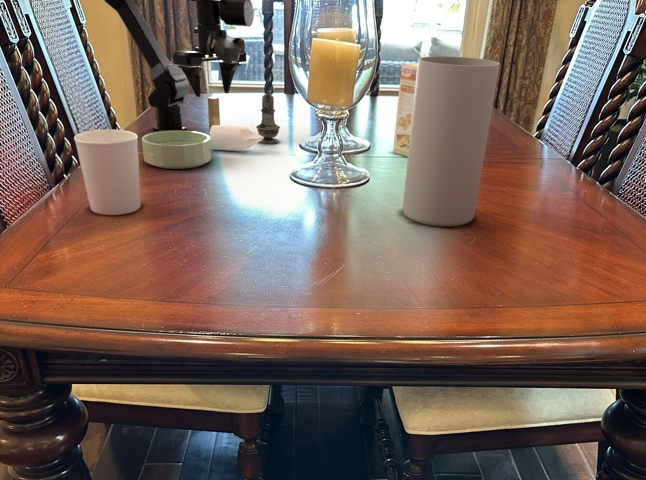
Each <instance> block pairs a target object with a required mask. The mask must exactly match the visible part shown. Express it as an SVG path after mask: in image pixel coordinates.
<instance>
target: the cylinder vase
mask: <svg viewBox="0 0 646 480" xmlns="http://www.w3.org/2000/svg"><path fill="white" fill-rule="evenodd" d="M417 64H418V66H417V75H416V85H415V94H414V104H413V113H412V123H411V132H410V142H409V151H408V157H407V164H406V173H405V179H404V181H405V182H404V190H403V199H402V212H403V214H404V215H405V217H406V218H407V219H409V220H411V221H413V222H416V223H418V224H422V225H426V226H432V227H440V228H441V227H442V228H445V227H446V228H447V227H448V228H450V227H458V226H463V225H466V224H469V223H470V222H472V221H473V219H474V218H475V215H476V209H477V203H478V196H479V191H480V186H481V185H480V184H481V178H482V174H483V173H482V172H483V166H484V161H485V156H486V149H487V143H488V137H489V130H490V125H491V120H492V119H491V118H492V113H493V109H494V108H493V107H494V101H495V97H496V96H495V95H496V89H497V83H498V78H499V72H500V66H501V63H500V62H498V61H494V60H491V59H484V58H477V57H466V56H445V55H441V56H439V55H435V56H431V55H430V56H423V57H421V56H420V57H418V59H417Z"/></svg>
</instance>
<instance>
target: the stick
mask: <svg viewBox="0 0 646 480" xmlns="http://www.w3.org/2000/svg"><path fill="white" fill-rule="evenodd" d="M207 112H208V113H207V114H208V115H207V116H208V130H209V131H208V132H209V134H210V129H211V127H212V125H221V116H220V115H221V114H220V113H221V112H220V98H219V97H216V96H209V97H207Z"/></svg>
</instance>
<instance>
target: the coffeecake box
mask: <svg viewBox="0 0 646 480" xmlns="http://www.w3.org/2000/svg"><path fill="white" fill-rule="evenodd" d="M417 66H418V63H408V64H401V68H400V77H399V86H398V87H399V88H398V97H397V107H396V118H395V128H394V138H393V147H392V153H395V154H398V155H401V156H404V157H407V158H408V151H409V142H410V132H411V123H412V113H413V104H414V94H415V85H416V75H417Z"/></svg>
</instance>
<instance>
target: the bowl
mask: <svg viewBox="0 0 646 480" xmlns="http://www.w3.org/2000/svg"><path fill="white" fill-rule="evenodd" d="M209 136H210V135H209V134H206V133H203V132H200V131H193V130H182V131H155V132H150V133H147V134H144V135H143V136H141V145H142V154H143V161H144V162H145V163H146V164H149V165H151V166H153V167H157V168H160V169H167V170H168V169H169V170H181V169H183V170H184V169H185V170H186V169H193V168H198V167H201V166H204V165H205V164H207V163H209V162H210V161H211V160H212V149H211V142H210V137H209Z"/></svg>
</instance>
